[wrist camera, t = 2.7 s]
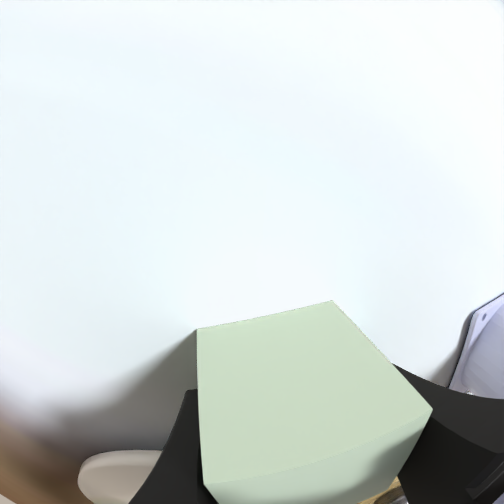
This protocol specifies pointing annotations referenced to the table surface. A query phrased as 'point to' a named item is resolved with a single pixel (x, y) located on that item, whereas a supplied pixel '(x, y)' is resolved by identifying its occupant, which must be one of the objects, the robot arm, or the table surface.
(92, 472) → the dish
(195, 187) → the table surface
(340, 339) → the sage block
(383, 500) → the balance
